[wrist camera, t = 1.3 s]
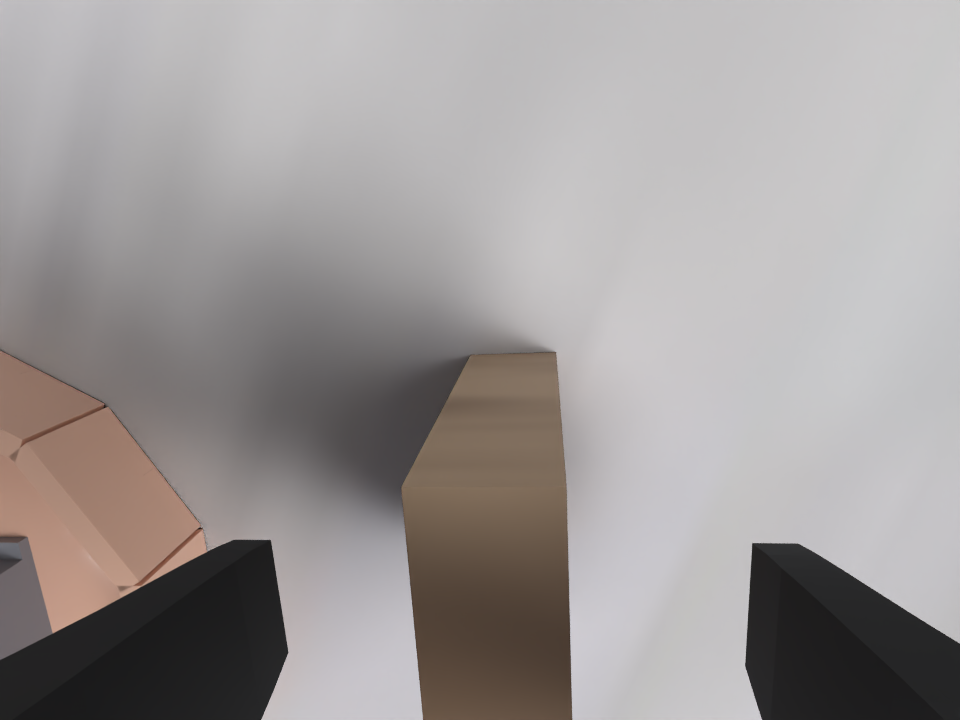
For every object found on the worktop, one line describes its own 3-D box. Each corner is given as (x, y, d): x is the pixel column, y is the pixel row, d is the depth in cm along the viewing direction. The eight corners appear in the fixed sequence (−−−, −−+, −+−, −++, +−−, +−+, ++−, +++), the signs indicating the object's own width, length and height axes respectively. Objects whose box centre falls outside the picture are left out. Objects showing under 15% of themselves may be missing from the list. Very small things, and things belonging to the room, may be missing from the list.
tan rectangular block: (560, 545, 15) (574, 819, 8) (482, 544, 15) (432, 811, 8) (555, 352, 14) (566, 485, 7) (470, 354, 14) (401, 486, 7)
